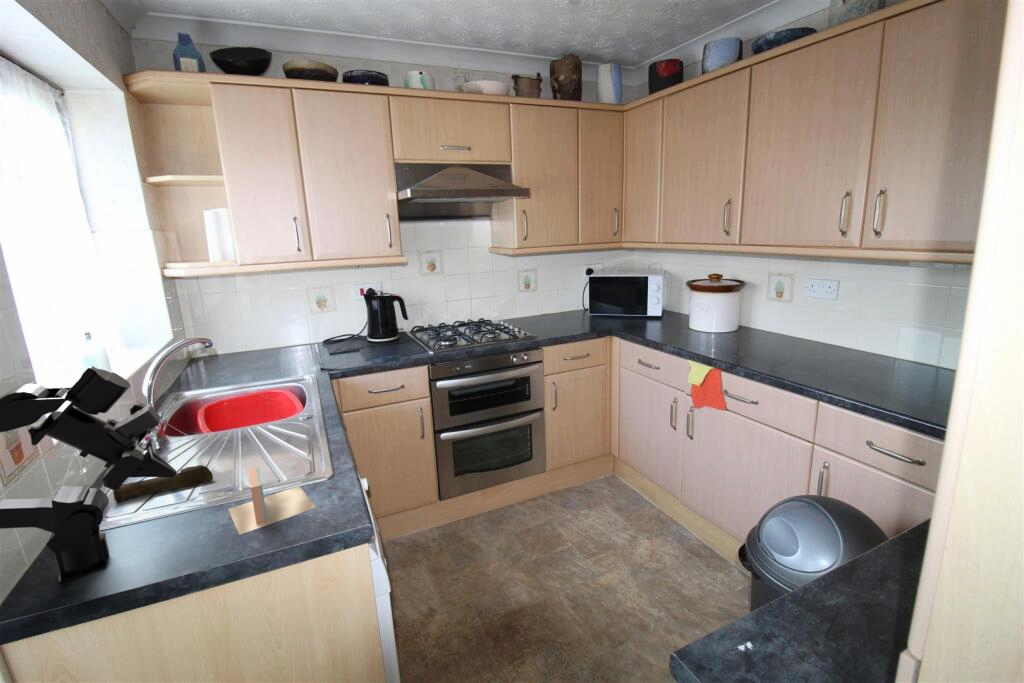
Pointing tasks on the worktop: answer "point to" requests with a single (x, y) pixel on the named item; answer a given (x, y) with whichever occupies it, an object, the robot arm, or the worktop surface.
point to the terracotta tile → (257, 495)
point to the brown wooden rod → (164, 483)
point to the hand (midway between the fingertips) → (175, 474)
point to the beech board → (271, 509)
